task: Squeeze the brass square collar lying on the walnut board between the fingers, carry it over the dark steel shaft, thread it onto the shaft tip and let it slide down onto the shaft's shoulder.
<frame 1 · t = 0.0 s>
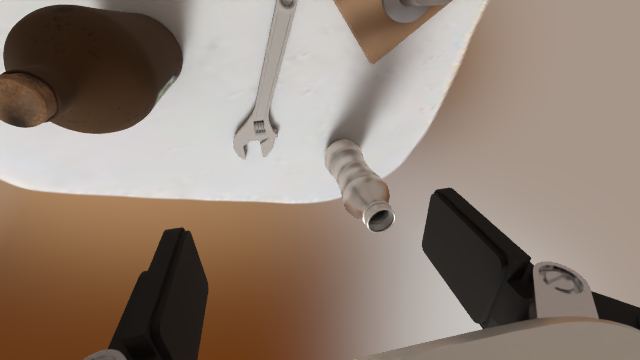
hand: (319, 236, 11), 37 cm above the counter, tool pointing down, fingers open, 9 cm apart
plastic bottle: (339, 152, 52), on the counter
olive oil: (145, 54, 39), on the counter
adjustable wrench: (271, 85, 44), on the counter
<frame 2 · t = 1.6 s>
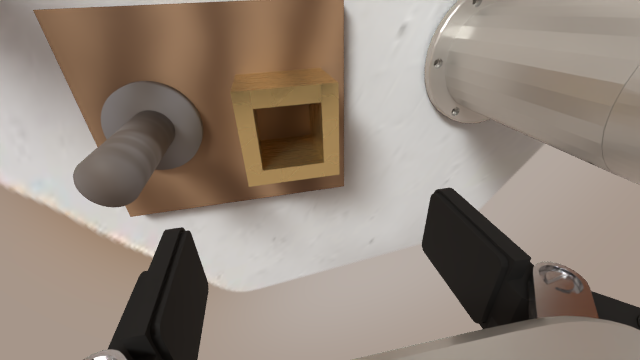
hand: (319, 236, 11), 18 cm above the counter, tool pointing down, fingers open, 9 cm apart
shaft board: (226, 113, 26), on the counter
brass collar: (283, 112, 26), point 1 cm above the counter, touching shaft board
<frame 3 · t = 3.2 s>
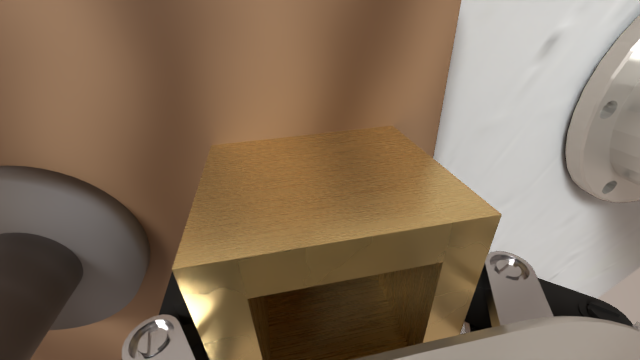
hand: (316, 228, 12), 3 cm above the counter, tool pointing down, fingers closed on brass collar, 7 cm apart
shaft board: (200, 206, 13), on the counter
brass collar: (311, 209, 13), point 1 cm above the counter, touching gripper, shaft board
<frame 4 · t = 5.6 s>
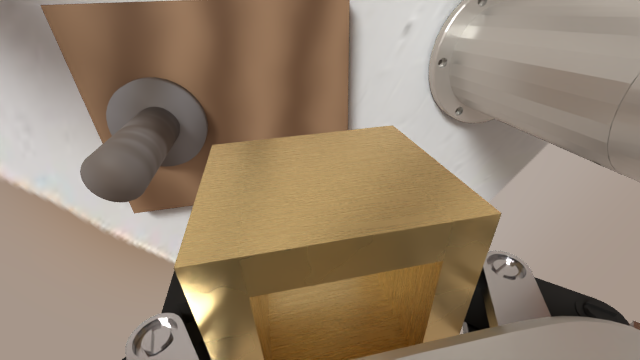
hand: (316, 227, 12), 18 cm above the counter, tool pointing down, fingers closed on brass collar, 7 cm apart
shaft board: (231, 111, 26), on the counter
brass collar: (311, 208, 13), point 16 cm above the counter, touching gripper
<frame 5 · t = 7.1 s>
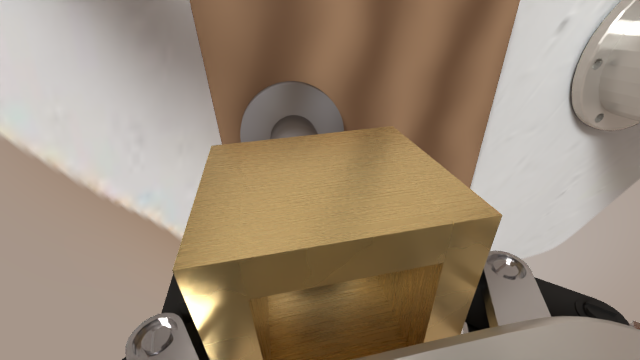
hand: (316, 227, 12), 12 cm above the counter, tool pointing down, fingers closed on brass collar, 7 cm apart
shaft board: (358, 118, 23), on the counter
brass collar: (311, 209, 13), point 11 cm above the counter, touching gripper
when the fingers open (10 cm above the counter, at t = 8.0 s): brass collar drops 6 cm, resting on shaft board.
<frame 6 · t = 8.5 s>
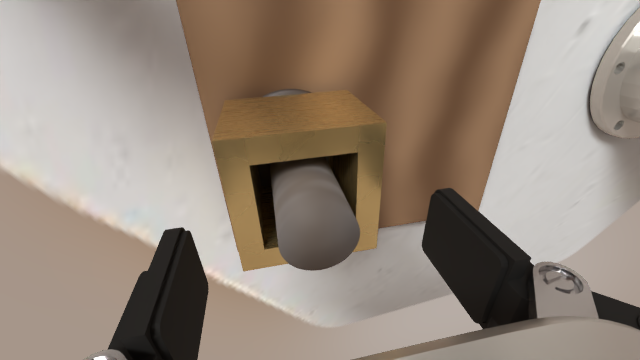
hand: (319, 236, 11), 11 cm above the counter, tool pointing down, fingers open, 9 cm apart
shaft board: (363, 128, 21), on the counter
brass collar: (293, 150, 18), point 2 cm above the counter, touching shaft board
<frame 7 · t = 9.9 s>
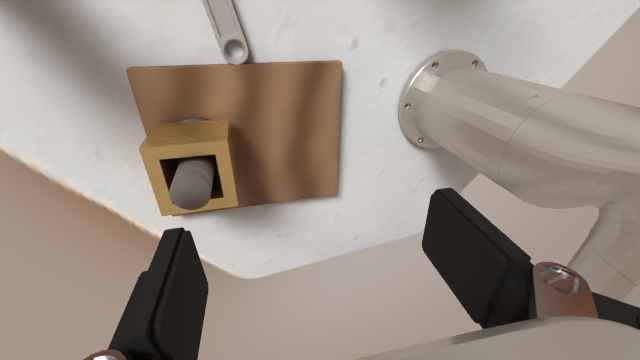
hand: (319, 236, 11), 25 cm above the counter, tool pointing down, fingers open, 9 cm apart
shaft board: (251, 139, 35), on the counter
brass collar: (200, 152, 31), point 2 cm above the counter, touching shaft board
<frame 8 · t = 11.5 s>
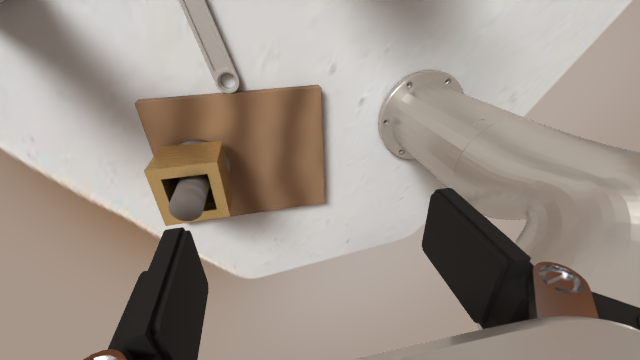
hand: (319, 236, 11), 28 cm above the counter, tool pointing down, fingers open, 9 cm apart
shaft board: (244, 155, 39), on the counter
brass collar: (199, 169, 36), point 2 cm above the counter, touching shaft board
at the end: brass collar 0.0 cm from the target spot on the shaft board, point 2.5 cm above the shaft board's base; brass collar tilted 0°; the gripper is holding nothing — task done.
